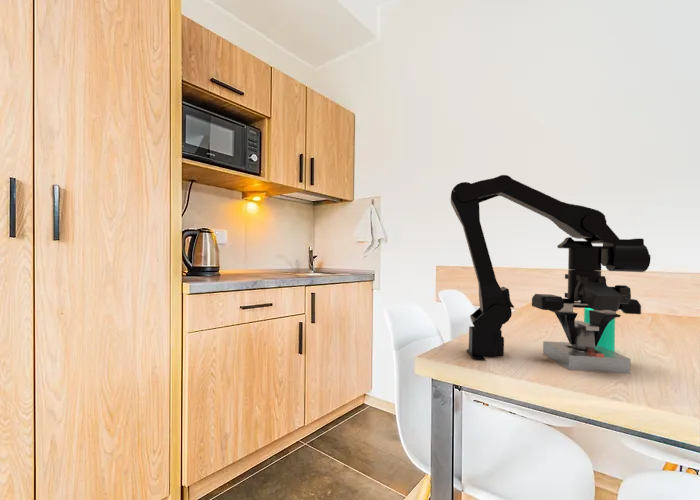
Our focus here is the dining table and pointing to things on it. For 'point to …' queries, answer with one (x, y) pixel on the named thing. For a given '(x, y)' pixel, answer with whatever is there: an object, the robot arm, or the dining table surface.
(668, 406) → the dining table surface
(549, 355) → the flat box
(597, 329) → the column
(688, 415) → the dining table surface
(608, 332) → the candle
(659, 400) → the dining table surface
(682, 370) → the dining table surface
